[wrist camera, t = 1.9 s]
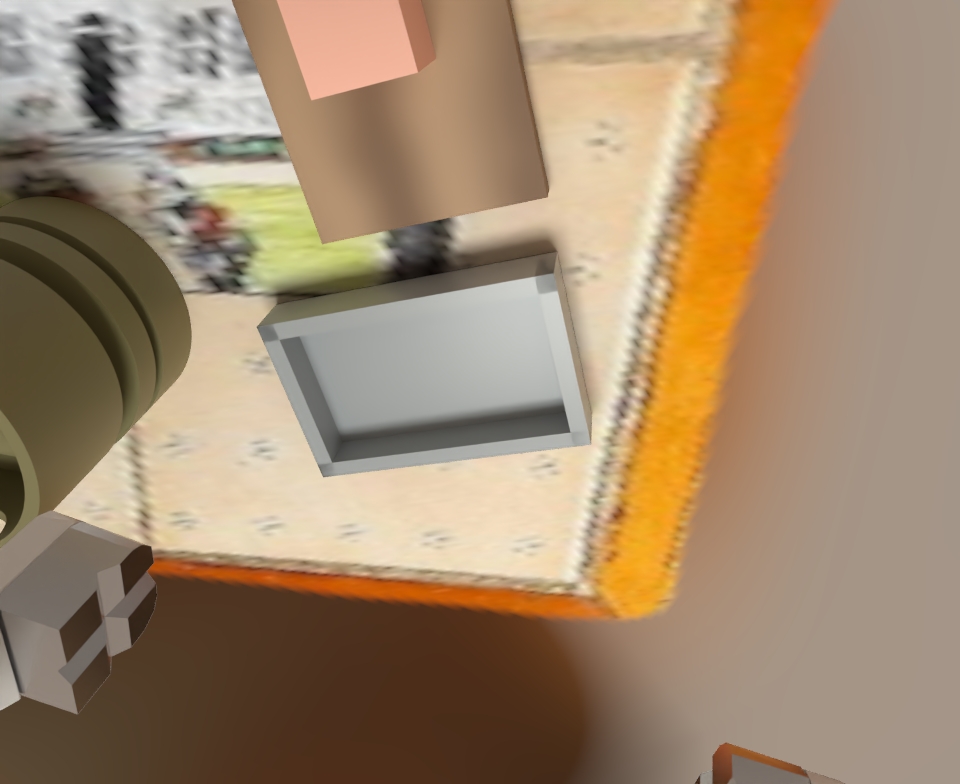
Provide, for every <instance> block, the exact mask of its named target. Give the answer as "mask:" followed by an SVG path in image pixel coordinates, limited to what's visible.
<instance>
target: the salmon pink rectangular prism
mask: <svg viewBox="0 0 960 784" xmlns="http://www.w3.org/2000/svg"><path fill="white" fill-rule="evenodd" d="M277 3H278V6H279V8H280V11H281V14H282V17H283V20H284V23H285V26H286V29H287V32H288V34H289V37H290V40H291V43H292V46H293V49H294V52H295V55H296V58H297V61H298V63H299V66H300V69H301V72H302V75H303V78H304V81H305V84H306V87H307V89H308V92H309V95H310V98H311V100H315V99H319V98H323V97H327V96H330V95H334V94H338V93H342V92H346V91H350V90H353V89H357V88H361V87H365V86H369V85H373V84H376V83H380V82H384V81H388V80H392V79H396V78H399V77H403V76H407V75H411V74H415V73H418V72H420V71H421V70H422V69H423V68H425V67H426V66H427V65H429V64H430V63H431V62H432V61H434V60H435V59H436V56H435V52H434V48H433V44H432V41H431V37H430V33H429V29H428V25H427V21H426V18H425V14H424V10H423V6H422V2H421V0H277Z"/></svg>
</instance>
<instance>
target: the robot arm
mask: <svg viewBox="0 0 960 784" xmlns="http://www.w3.org/2000/svg"><path fill="white" fill-rule="evenodd" d="M153 563H154V560H153V554H152V548H151V546H149V545H146V544H143V543H140V542H137V541H135V540H132V539H129V538H126V537H124V536H121V535H118V534H115V533H113V532H110V531H107V530H104V529H102V528H99V527H96V526H93V525H90V524H88V523H86V522H83V521H80V520H77V519H74V518H72V517H69V516H66V515H63V514H60V513H57V512H54V511H48V512H46V513H43V514H41V515H39V516H37V517H35V518H34V519H33V520H32V521H31V522H30V523H28V524H27V525H26V526H25V527H24V528H23V529H22V530H21V531H19V532H18V533H17V534H16V535H15V536H14V537H13V538H11V539H10V540H9V541H8V542H7V543H6V544H5V545H4V546H2V547H1V548H0V710H2V709H4V708H5V707H7V706H9V705H11V704H12V703H14V702H16V701H18V700H20V698H21V697H20V695H22V696H25V697H28V698H31V699H34V700H37V701H40V702H43V703H46V704H49V705H52V706H55V707H58V708H61V709H64V710H66V711H70V712H72V713H75V714H78V713H79V712H80V711H81V710H82V709H83V707H84V706H85V705H86V704H87V702H88V701H89V700H90V699H91V697H92V696H93V695H94V694H95V692H96V691H97V690H98V689H99V687H100V686H101V685H102V684H103V682H104V681H105V680H106V679H107V677H108V676H109V675H110V674H111V656H113V655H115V654H118V653H120V652H122V651H124V650H126V649H129V648H131V647H132V646H133V644H134V643H135V642H136V640H137V639H138V638H139V637H140V635H141V634H142V633H143V631H144V630H145V628H146V626H147V624H148V622H149V620H150V618H151V616H152V614H153V612H154V608H155V603H156V597H157V589H156V583H155V582H154V581H153V579H152V578H151V577H150V575H149V574H148V573H147V570H148V569H149V568H150V567H151V566H152V564H153ZM712 762H713V763H712V769H713V770H712V771H709V772H705V773H702V774H700V776H699V777H698V779H697V781H696V782H695V784H845V783H843V782H841V781H839V780H836V779H833V778H829V777H826V776H823V775H820V774H817V773H813V772H810V771H807V770H804V769H802V768H801V767H800V766H797V765H794V764H791V763H788V762H785V761H782V760H778V759H775V758H772V757H769V756H766V755H763V754H760V753H757V752H754V751H751V750H748V749H745V748H742V747H739V746H736V745H732V744H729V743H724V744H722V745H720V746H719V747H718V749H717V750H716V751H715V753H714V754H713V756H712Z"/></svg>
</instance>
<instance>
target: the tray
mask: <svg viewBox="0 0 960 784" xmlns="http://www.w3.org/2000/svg"><path fill="white" fill-rule="evenodd" d="M257 328H258V331H259V333H260V335H261V338H262V340H263V342H264V344H265V347H266V349H267V351H268V353H269V356H270V358H271V360H272V362H273V365H274V367H275V369H276V371H277V374H278V376H279V378H280V381H281V383H282V385H283V387H284V390H285V392H286V394H287V396H288V399H289V401H290V403H291V405H292V408H293V410H294V412H295V414H296V417H297V419H298V421H299V424H300V426H301V428H302V430H303V433H304V435H305V437H306V439H307V442H308V444H309V446H310V448H311V451H312V453H313V455H314V457H315V460H316V462H317V464H318V466H319V469H320V471H321V473H322V476H323V477H329V476H337V475H345V474H354V473H362V472H370V471H378V470H386V469H395V468H403V467H411V466H419V465H428V464H436V463H444V462H452V461H460V460H469V459H477V458H485V457H493V456H501V455H510V454H518V453H526V452H534V451H542V450H551V449H559V448H567V447H575V446H583V445H591V428H592V414H591V409H590V405H589V400H588V395H587V391H586V386H585V381H584V376H583V372H582V367H581V362H580V357H579V353H578V348H577V343H576V338H575V334H574V329H573V324H572V320H571V315H570V310H569V305H568V301H567V296H566V291H565V286H564V282H563V277H562V272H561V268H560V263H559V258H558V253H557V252H552V253H547V254H542V255H536V256H531V257H526V258H520V259H515V260H510V261H504V262H499V263H494V264H488V265H483V266H478V267H473V268H467V269H462V270H457V271H451V272H446V273H441V274H435V275H430V276H425V277H419V278H414V279H409V280H404V281H398V282H393V283H388V284H382V285H377V286H372V287H366V288H361V289H356V290H350V291H345V292H340V293H335V294H329V295H324V296H319V297H313V298H308V299H303V300H297V301H292V302H287V303H281V304H277V305H276V306H275V307H274V308H273V309H272V310H271V311H270V313H269V314H268V315H267V316H266V317H265V318H264V319H263V321H262V322H261V323H260V324H259V325H258V326H257Z"/></svg>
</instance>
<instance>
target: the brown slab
mask: <svg viewBox="0 0 960 784" xmlns="http://www.w3.org/2000/svg"><path fill="white" fill-rule="evenodd" d="M232 2H233V5H234V7H235V10H236V13H237V15H238V18H239V21H240V24H241V26H242V29H243V32H244V34H245V37H246V40H247V42H248V45H249V48H250V50H251V53H252V56H253V59H254V61H255V64H256V67H257V69H258V72H259V75H260V77H261V80H262V83H263V85H264V88H265V91H266V93H267V96H268V99H269V102H270V104H271V107H272V110H273V112H274V115H275V118H276V120H277V123H278V126H279V128H280V131H281V134H282V137H283V139H284V142H285V145H286V147H287V150H288V153H289V155H290V158H291V161H292V163H293V166H294V169H295V172H296V174H297V177H298V180H299V182H300V185H301V188H302V190H303V193H304V196H305V198H306V201H307V204H308V207H309V209H310V212H311V215H312V217H313V220H314V223H315V225H316V228H317V231H318V233H319V236H320V239H321V241H322V244H325V243H329V242H334V241H339V240H344V239H349V238H353V237H358V236H363V235H368V234H373V233H378V232H382V231H387V230H392V229H397V228H402V227H406V226H411V225H416V224H421V223H426V222H431V221H435V220H440V219H445V218H450V217H455V216H460V215H464V214H469V213H474V212H479V211H484V210H488V209H493V208H498V207H503V206H508V205H513V204H517V203H522V202H527V201H532V200H537V199H541V198H546V197H548V192H549V187H548V183H547V178H546V173H545V168H544V163H543V159H542V154H541V149H540V144H539V139H538V135H537V130H536V125H535V120H534V115H533V111H532V106H531V101H530V96H529V91H528V86H527V82H526V77H525V72H524V67H523V62H522V58H521V53H520V48H519V43H518V38H517V34H516V29H515V24H514V19H513V14H512V10H511V5H510V0H421V2H422V6H423V10H424V14H425V18H426V21H427V25H428V29H429V33H430V37H431V41H432V44H433V48H434V52H435V56H436V59H435V60H434V61H432V62H431V63H430V64H429V65H427V66H426V67H425V68H423V69H422V70H421V71H420V72H418V73H415V74H411V75H407V76H403V77H399V78H396V79H392V80H388V81H384V82H380V83H376V84H373V85H369V86H365V87H361V88H357V89H353V90H350V91H346V92H342V93H338V94H334V95H330V96H327V97H323V98H319V99H315V100H311V98H310V95H309V92H308V89H307V87H306V84H305V81H304V78H303V75H302V72H301V69H300V66H299V63H298V61H297V58H296V55H295V52H294V49H293V46H292V43H291V40H290V37H289V34H288V32H287V29H286V26H285V23H284V20H283V17H282V14H281V11H280V8H279V6H278V3H277V0H232Z"/></svg>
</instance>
